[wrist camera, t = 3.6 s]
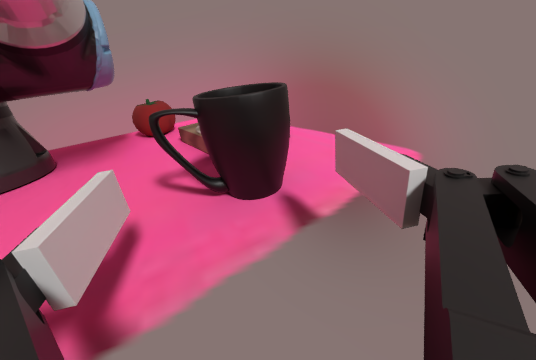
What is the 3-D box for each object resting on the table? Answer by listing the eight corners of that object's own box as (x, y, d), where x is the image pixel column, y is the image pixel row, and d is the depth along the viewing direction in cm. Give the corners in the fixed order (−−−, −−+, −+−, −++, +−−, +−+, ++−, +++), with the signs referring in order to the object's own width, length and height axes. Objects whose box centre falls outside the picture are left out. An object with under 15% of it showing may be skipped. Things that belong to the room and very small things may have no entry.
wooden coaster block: (181, 141, 46) (177, 126, 45) (237, 125, 52) (235, 111, 51) (223, 161, 34) (219, 140, 33) (289, 137, 40) (288, 119, 39)
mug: (177, 188, 28) (149, 99, 24) (279, 164, 30) (270, 80, 26) (175, 229, 21) (135, 112, 17) (309, 193, 23) (303, 84, 19)
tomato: (160, 139, 49) (148, 101, 46) (130, 140, 52) (117, 104, 49) (185, 128, 56) (176, 94, 53) (157, 129, 59) (147, 97, 55)
